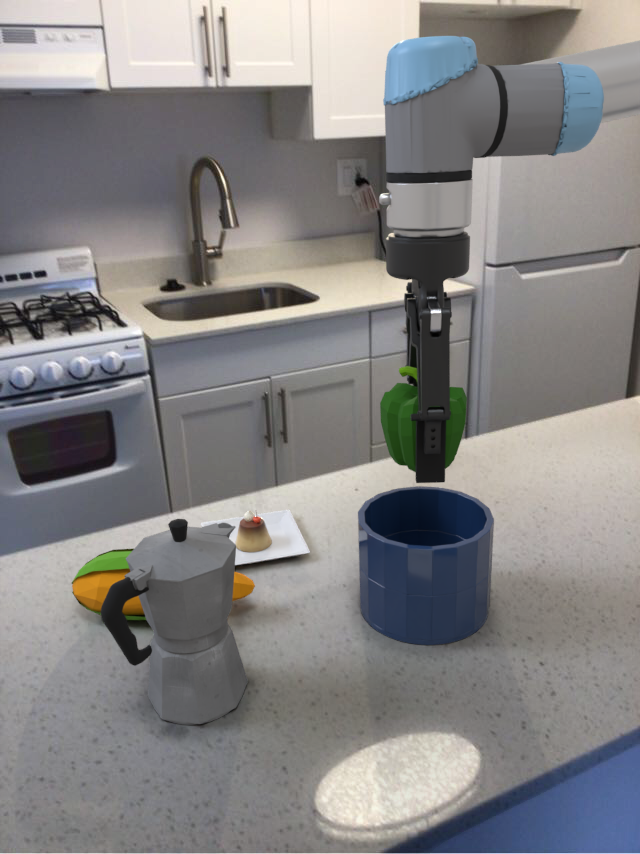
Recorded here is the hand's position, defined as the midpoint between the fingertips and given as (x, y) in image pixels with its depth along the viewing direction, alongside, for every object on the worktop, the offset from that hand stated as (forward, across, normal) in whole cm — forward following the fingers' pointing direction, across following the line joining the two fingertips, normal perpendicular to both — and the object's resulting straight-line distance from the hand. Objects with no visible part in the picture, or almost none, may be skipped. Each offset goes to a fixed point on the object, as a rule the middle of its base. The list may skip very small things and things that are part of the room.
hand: (425, 462), depth 76 cm
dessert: (+17, -14, -20) cm, 30 cm away
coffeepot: (+17, +14, -23) cm, 32 cm away
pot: (+17, 0, 0) cm, 17 cm away
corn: (+17, 0, -28) cm, 33 cm away
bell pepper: (0, 0, 0) cm, 1 cm away
